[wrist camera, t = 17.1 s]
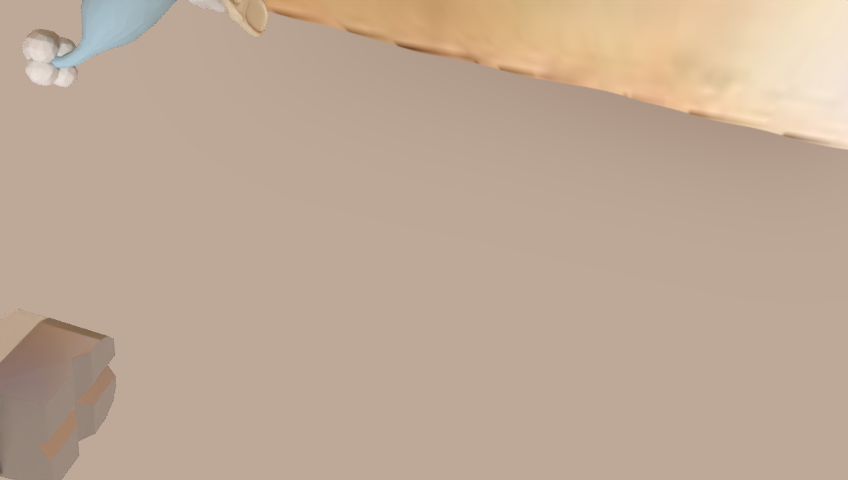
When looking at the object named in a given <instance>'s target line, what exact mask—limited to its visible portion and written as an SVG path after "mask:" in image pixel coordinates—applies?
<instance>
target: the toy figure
mask: <svg viewBox="0 0 848 480" xmlns="http://www.w3.org/2000/svg"><path fill="white" fill-rule="evenodd" d="M188 1H189V2H191V3H193V4H196V5H197V6H198V7H199V8H202V9H204V8H206V7H208V8H209V9H211V10H213V11H218V12H223V11H225V10H226V8H227V14H228V15H229V16H230V18H231V19H232V20H233V21H234V22H236V23H238V24H239V25H240V26H241V27H242V28H243V29H244V30H245V31H246V32H248V33H249V34H251V35H252V36H254V37H259V36H261V35H262V33H263V32H264V30H265V27H266V25H267V22H268V8H267V6H266V4H265V2H264V1H263V0H188ZM175 2H176V0H82V5H81V14H82V38H81V41H80V43H79V45H78V46H77V47H76V46H75V44H74V43H73V42H72V41H71V40H69V39H66V38H63V37H59V36H58V35H57V34H56V33H55V32H52V31H49V30H44V29H39V30H35V31H32V32H31V33H30V34H29V35H28V36H27V37H26V39H25V40H24V42H23V47H22V51H23V53H24V55H25V57H26V58H27V60H28V63H27V65H26V69H25V72H26V73H27V75H28V76H29V78H30V79H31V80H32V82H34V83H36V84H40V85H44V86H46V85H50V84H55V85H58V86H61V87H67V86H71V85H72V84H73V83H74V82H75V80H76V79H77V75H78V70H77V69H76V67H75V65H79V64H80V63H82V62H84V61H86V60H87V59H89V58H91V57H93V56H95V55H97V54H99V53H102V52H104V51H106V50H109V49H112V48H115V47H119V46H122V45H125V44H128V43H130V42H132V41H134V40H136V39H137V38H138V37H140V36H141V35H142V34H143V33H144V32H146V31H147V30H148V29H149V28H151V27H152V26H153V25H154V24H156V22H157V21H158V20H159V19H160V18H161V17H162V15H164V14H165V12H166V11H167V10H168V9H169V8H170V7H171V6H172V5H173V4H174V3H175Z"/></svg>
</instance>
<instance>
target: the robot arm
mask: <svg viewBox="0 0 848 480" xmlns="http://www.w3.org/2000/svg"><path fill="white" fill-rule="evenodd" d="M114 356H115V349H114V339H112V338H110V337H109V336H106V335H102V334H99V333H96V332H93V331H90V330H87V329H83V328H80V327H77V326H74V325H71V324H68V323H64V322H61V321H58V320H55V319H51V318H47V317H44V316H40V315H37V314H34V313H30V312H27V311H24V310H21V309H17V310H14V311H12V312H9V313H8V314H6V315H5V316H4V317H3V318H2V319H1V320H0V476H2V477H6V478H9V479H14V480H62V478H63V477H64V476H65V474H66V473H67V472H68V470H69V469H70V468H71V466H72V465H73V463H74V462H75V461H76V459H77V458H78V457H79V447H78V441H80V440H82V439H84V438H87V437H88V436H91V435H93V434H95V433H96V431H97V430H98V429H99V427H100V426H101V424H102V423H103V421H104V420H105V418H106V416H107V414H108V412H109V409H110V407H111V404H112V402H113V399H114V394H115V388H116V376H115V374H114V373H113V372H112V370H111V369H110V368H109V366H108V363H109V362H110V361H111V359H112V358H113V357H114Z"/></svg>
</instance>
